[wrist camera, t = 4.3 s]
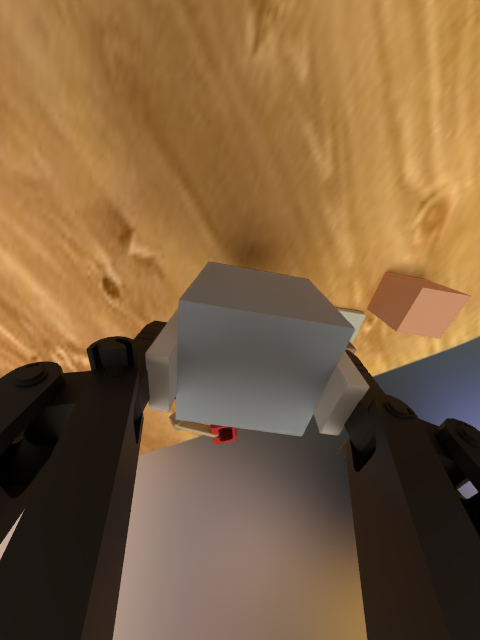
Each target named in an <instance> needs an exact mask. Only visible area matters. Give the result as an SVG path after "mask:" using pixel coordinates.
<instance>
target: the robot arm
mask: <svg viewBox="0 0 480 640" xmlns="http://www.w3.org/2000/svg"><path fill="white" fill-rule="evenodd" d="M178 318H179V307H178V309H177V310H176V312H175V313H174V314H173V316H172V317H171V318H170V320H169V321H168V323H167V322H161V321H153V322H151V323H149V324H147V325H146V326H145V327H144V328H143V329H142V330H141V332H140V333H139V334H138V335H137V336H136V338H134V339H130V338H127V337H121V336H115V337H107V338H104V339H101V340H98V341H96V342H94V343H93V344H91V345H90V346H89V347H88V348H87V353H88V358H89V362H90V366H91V371H84V372H72V373H63V371H62V368H61V366H59V365H58V364H57V363H54V362H36V363H31V364H27V365H24V366H22V367H19V368H16V369H15V370H13V371H11V372H9V373H8V374H6V375H5V376H3V377H2V378H0V544H1V542H2V541H3V539H4V538H5V537H6V535H7V534H8V532H9V531H10V529H11V528H12V526H13V525H14V524H15V522H16V520H17V519H18V518H19V516H20V515H21V514H22V512H23V511H24V512H23V514H22V516H21V518H20V520H19V522H18V524H17V526H16V529H15V531H14V533H13V535H12V537H11V539H10V541H9V543H8V545H7V547H6V549H5V552H4V553H3V556H2V558H1V560H0V640H112V639H113V632H114V625H115V618H116V610H117V603H118V597H119V590H120V582H121V575H122V568H123V561H124V554H125V547H126V540H127V533H128V525H129V519H130V512H131V505H132V498H133V491H134V484H135V477H136V469H137V463H138V455H139V448H140V441H141V434H142V427H143V420H144V417H143V410H144V408H145V406H146V405H147V403H148V401H149V410H155V411H162V412H169V411H170V409H171V406H172V404H173V401H174V399H175V396H176V394H177V355H178ZM313 413H314V416H315V419H316V422H317V425H318V428H319V431H320V433H324V434H331V435H339V434H340V432H341V431H342V429H343V428H344V426H345V428H346V430H347V432H348V434H349V436H348V437H347V439H346V440H345V442H344V443H343V445H342V446H341V448H340V449H339V451H338V453H337V457H338V458H340V457H341V456H342V454H343V453H344V452H346V457H345V459H344V460H346V461H347V470H348V478H349V487H350V495H351V504H352V512H353V519H354V529H355V537H356V546H357V555H358V563H359V572H360V580H361V589H362V597H363V604H364V605H363V606H364V614H365V622H366V631H367V638H368V640H480V431H478V430H477V429H476V428H475V427H473V426H471V425H468V424H467V423H465V422H462V421H459V420H456V419H446V420H445V421H444V422H443V423H442V424H441V425H440V426H436V425H434V424H431V423H429V422H426V421H423V420H421V419H419V418H418V417H417V415H416V414H415V413H414V411H413V410H412V409H411V408H410V407H409V406H408V405H406V404H405V403H403V402H402V401H400V400H399V399H397V398H394V397H392V396H390V395H386V394H385V393H384V392H383V390H382V389H381V388H380V386H379V385H378V384H377V383H376V381H375V380H374V379H373V377H372V376H371V375H370V373H368V371H367V369H366V368H365V367H364V366H363V364H362V363H361V361H360V360H359V359H358V357H357V356H355V355H354V354H353V353H352V352H350V351H349V350H345V351H344V353H343V355H342V357H341V359H340V361H339V363H338V364H337V365H336V367H335V369H334V371H333V373H332V375H331V377H330V379H329V381H328V383H327V385H326V387H325V389H324V391H323V393H322V395H321V397H320V399H319V401H318V403H317V405H316V407H315V410H314V412H313ZM468 481H471V483H472V484H473V485H474V487H475V488H476V489H477V490H478V493H477V494H475V495H474V496H472V497H471V498H469V499H466V498H465V497H463V496H462V495H461V493H460V492H459V491H458V490H457V489H458V488H460V487H461V486H463V485H464V484H465V483H467V482H468ZM24 509H25V510H24Z"/></svg>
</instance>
